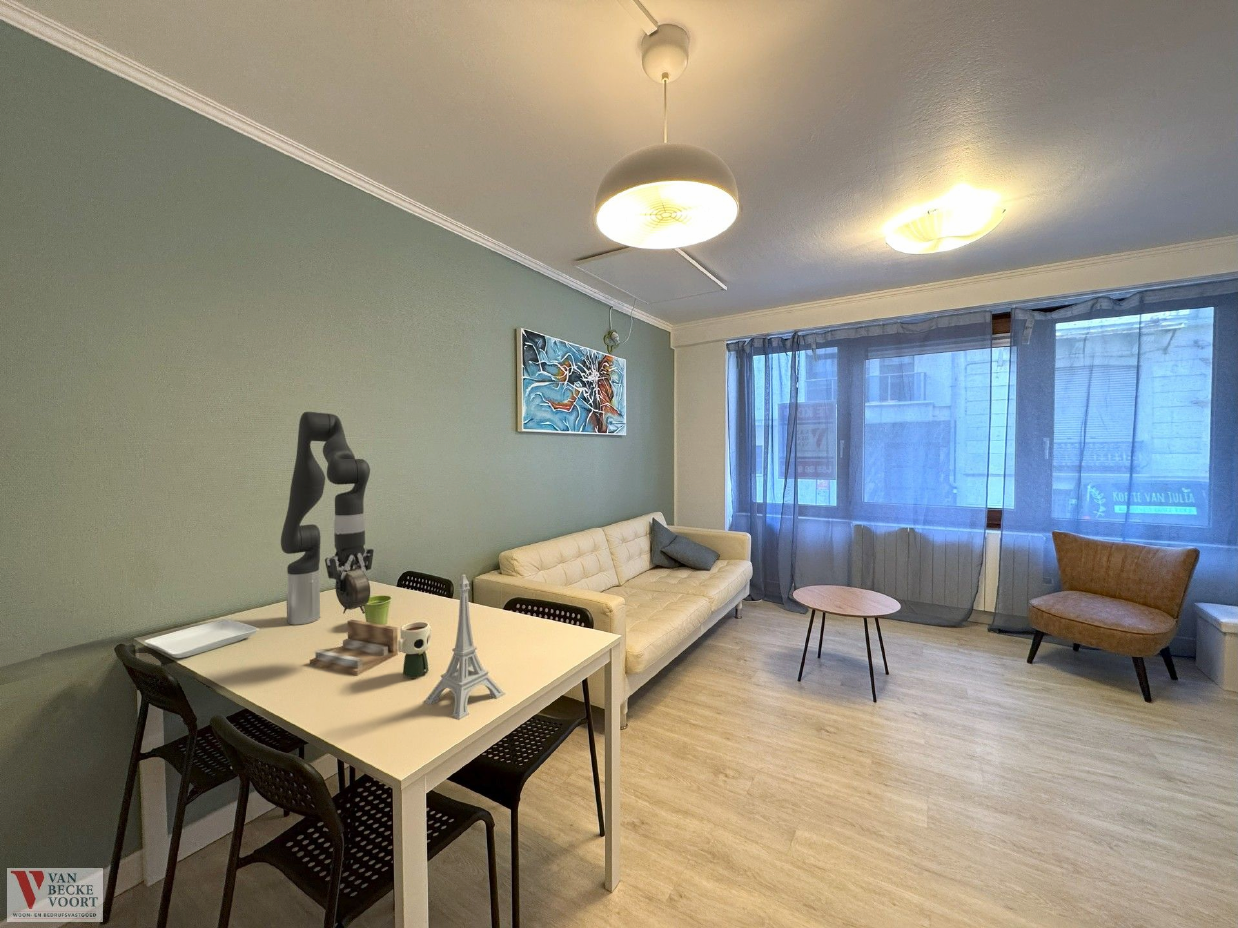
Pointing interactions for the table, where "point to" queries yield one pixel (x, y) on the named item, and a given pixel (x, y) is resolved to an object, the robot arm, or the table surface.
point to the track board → (360, 648)
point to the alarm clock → (354, 590)
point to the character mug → (415, 647)
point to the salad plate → (201, 638)
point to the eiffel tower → (463, 663)
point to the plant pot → (377, 609)
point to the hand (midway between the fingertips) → (350, 589)
